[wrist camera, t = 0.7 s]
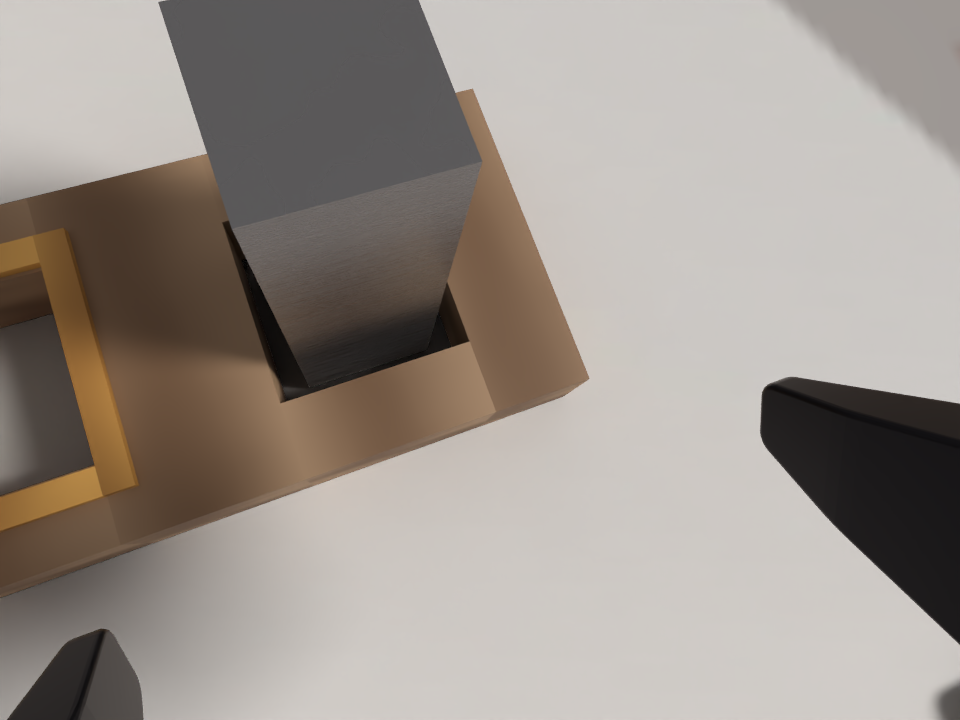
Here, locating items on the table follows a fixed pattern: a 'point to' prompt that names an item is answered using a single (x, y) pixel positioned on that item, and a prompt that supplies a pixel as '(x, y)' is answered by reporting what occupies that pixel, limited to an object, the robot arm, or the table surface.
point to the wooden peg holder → (241, 361)
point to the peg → (333, 165)
